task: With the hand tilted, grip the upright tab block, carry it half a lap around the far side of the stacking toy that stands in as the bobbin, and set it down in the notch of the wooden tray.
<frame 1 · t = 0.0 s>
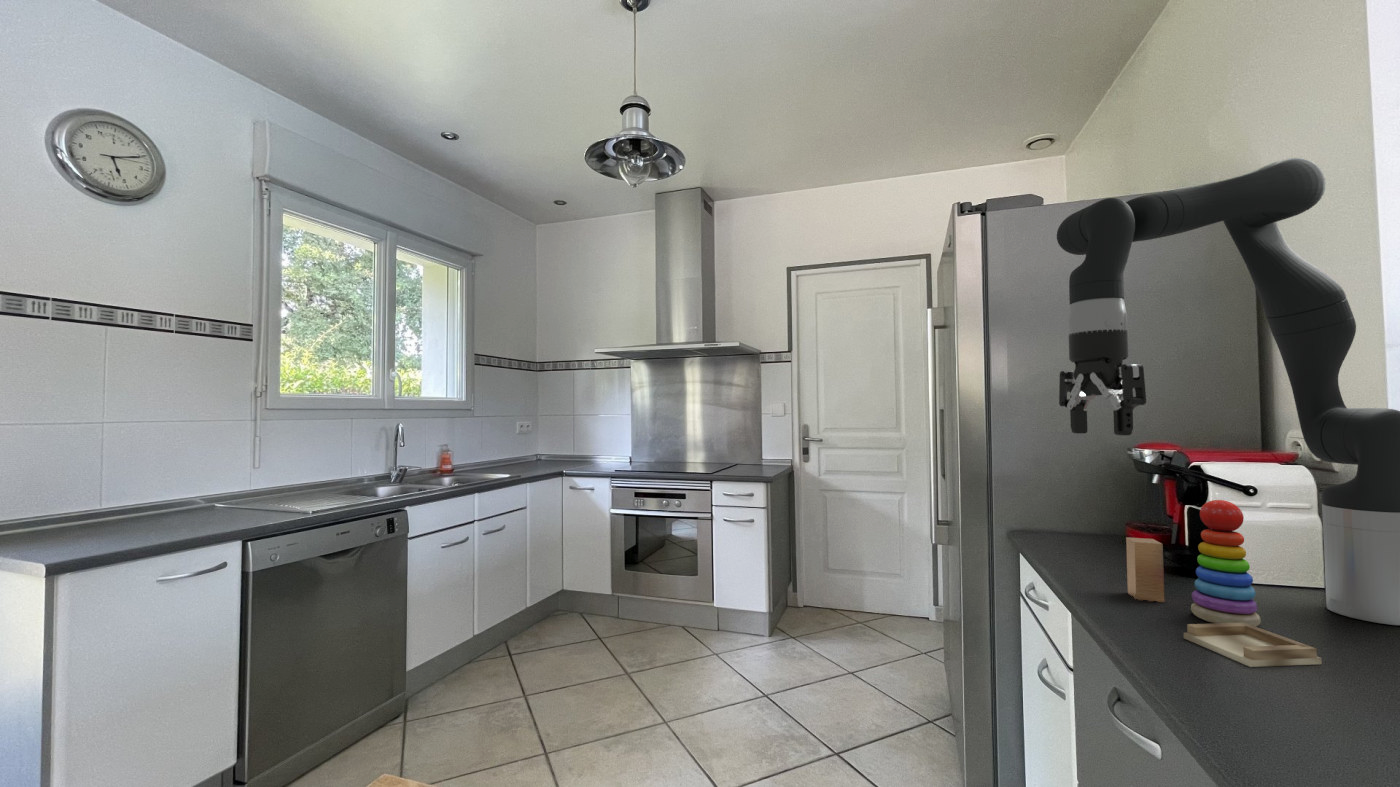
hand: (1100, 434, 86), 29 cm above the countertop, tool pointing down, fingers open, 8 cm apart
wooden tray: (1248, 650, 76), on the countertop
tab: (1145, 597, 97), on the countertop
stacking toy: (1225, 621, 87), on the countertop
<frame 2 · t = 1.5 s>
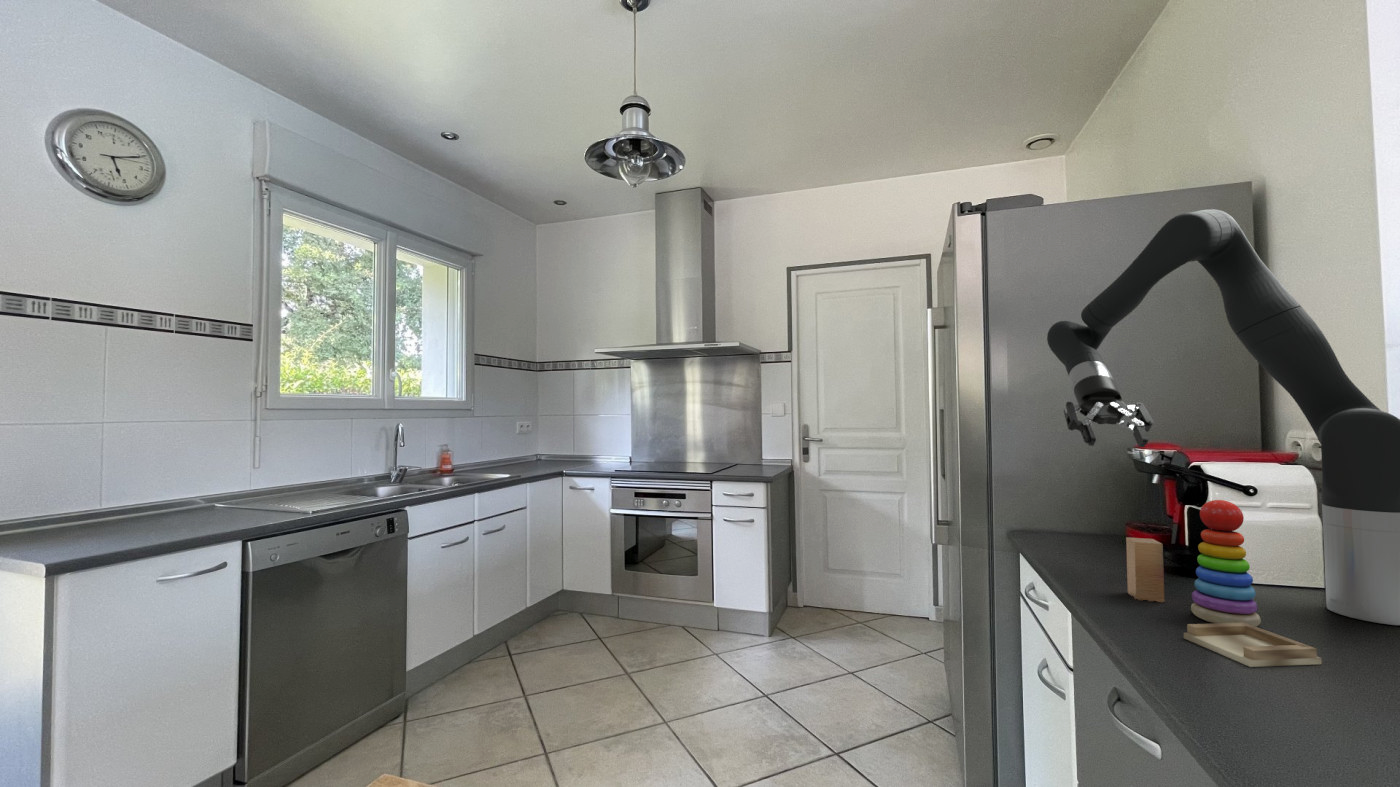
hand: (1117, 443, 108), 27 cm above the countertop, tool tilted 45°, fingers open, 8 cm apart
nothing on the countertop moved.
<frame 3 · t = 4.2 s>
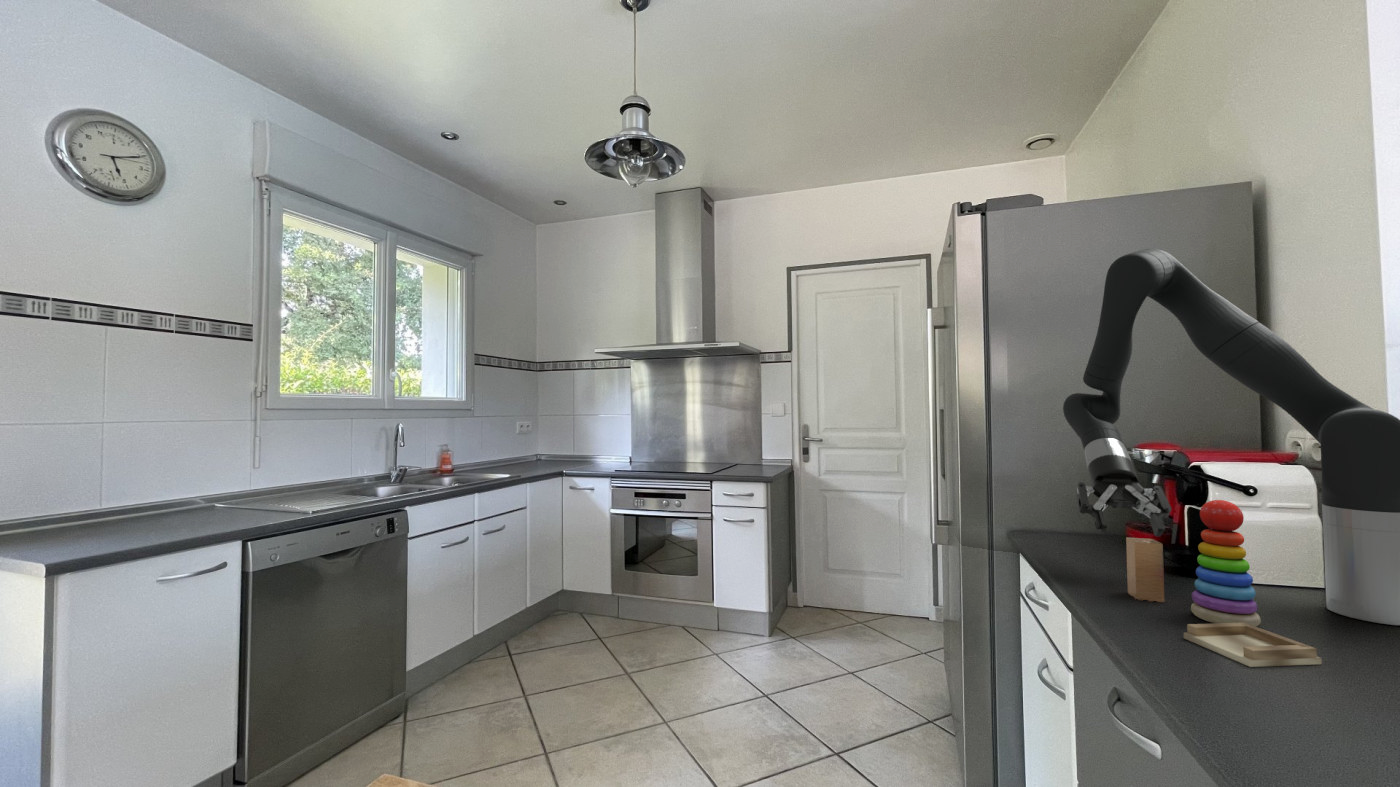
hand: (1131, 532, 103), 10 cm above the countertop, tool tilted 45°, fingers open, 8 cm apart
nothing on the countertop moved.
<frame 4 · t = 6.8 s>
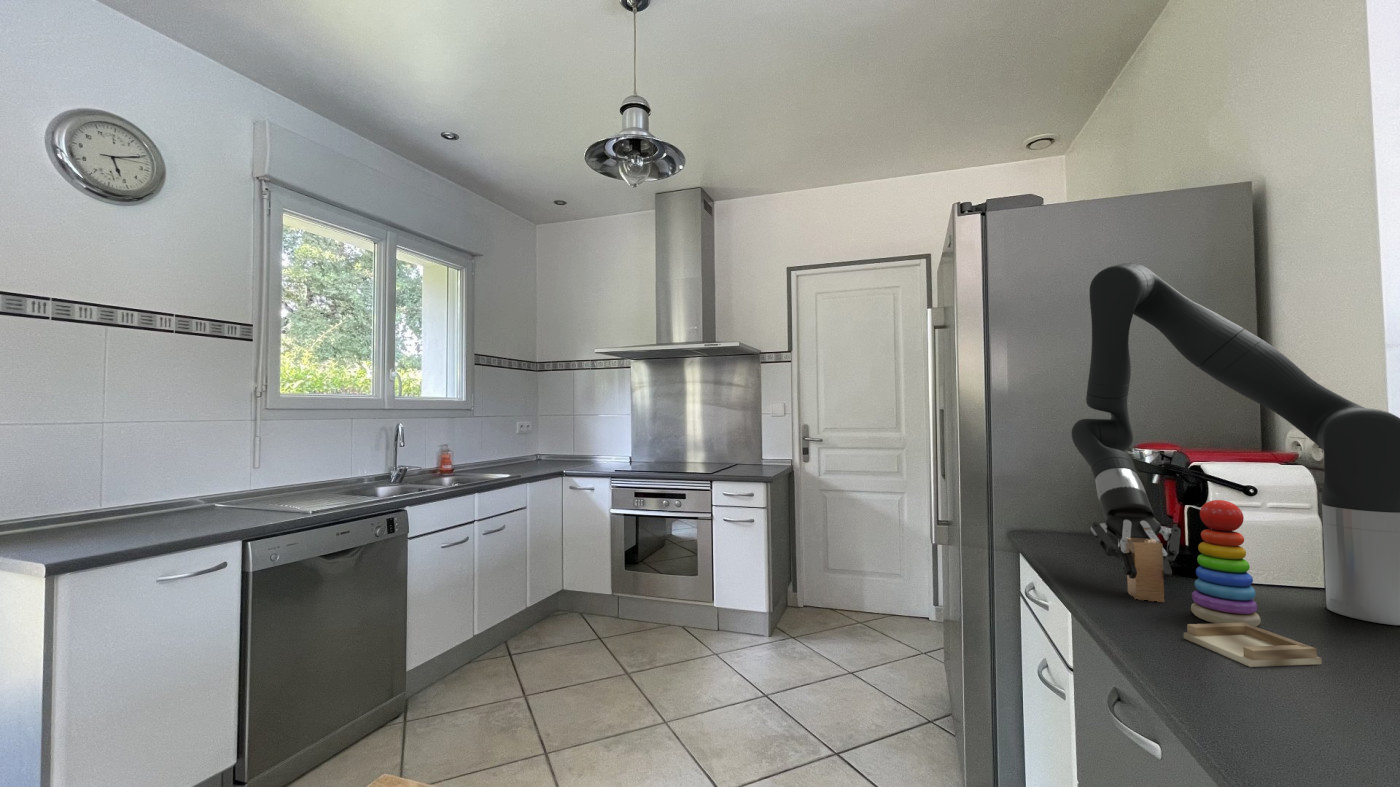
hand: (1149, 577, 96), 4 cm above the countertop, tool tilted 45°, fingers closed on tab, 4 cm apart
tab: (1145, 597, 97), on the countertop, touching gripper
everything else where it was.
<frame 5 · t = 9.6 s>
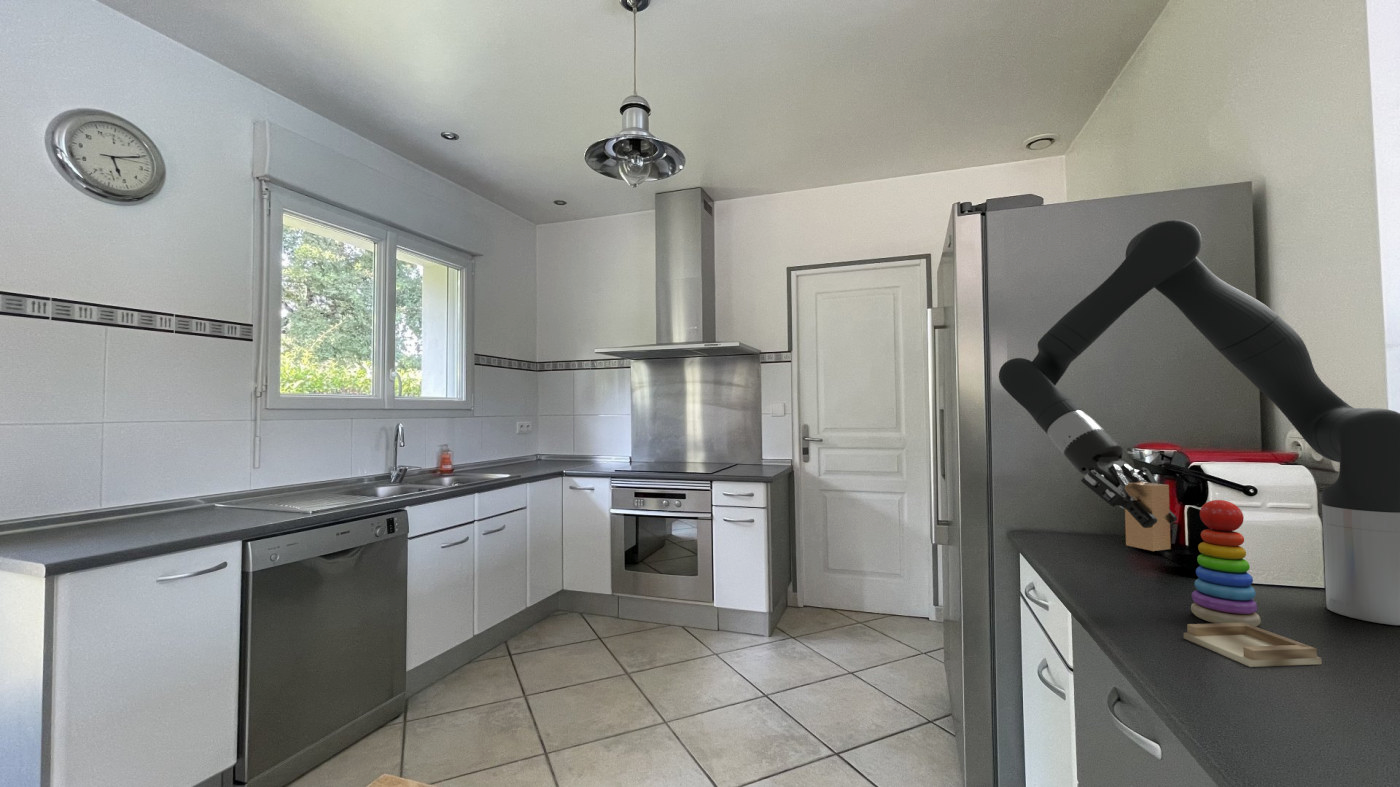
hand: (1161, 523, 86), 15 cm above the countertop, tool tilted 45°, fingers closed on tab, 4 cm apart
tab: (1148, 547, 88), point 11 cm above the countertop, touching gripper
everything else where it was.
when the fingers open (6 cm above the countertop, at t = 12.6 s): tab drops 1 cm, resting on wooden tray.
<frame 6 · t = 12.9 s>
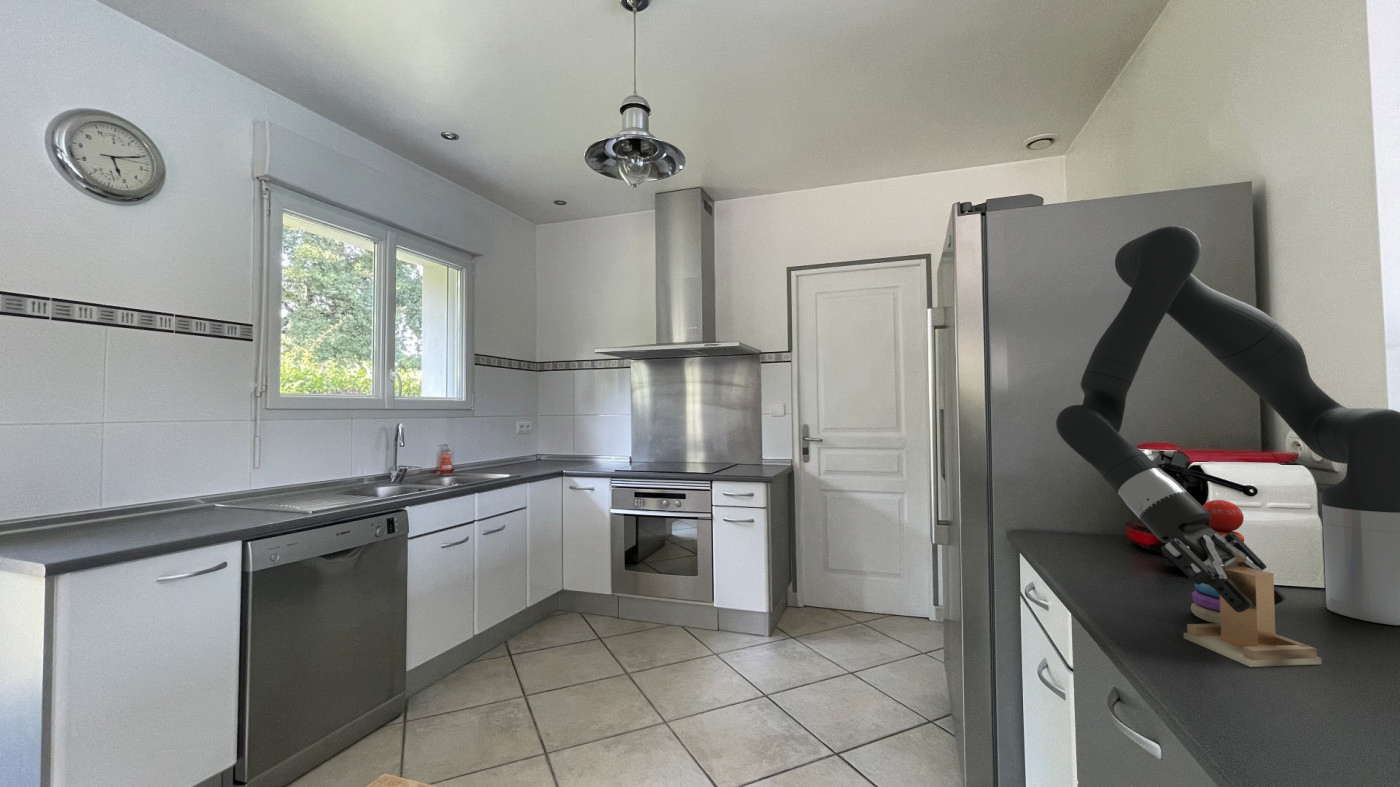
hand: (1262, 606, 74), 7 cm above the countertop, tool tilted 45°, fingers open, 6 cm apart
tab: (1248, 644, 76), point 1 cm above the countertop, touching wooden tray
everything else where it was.
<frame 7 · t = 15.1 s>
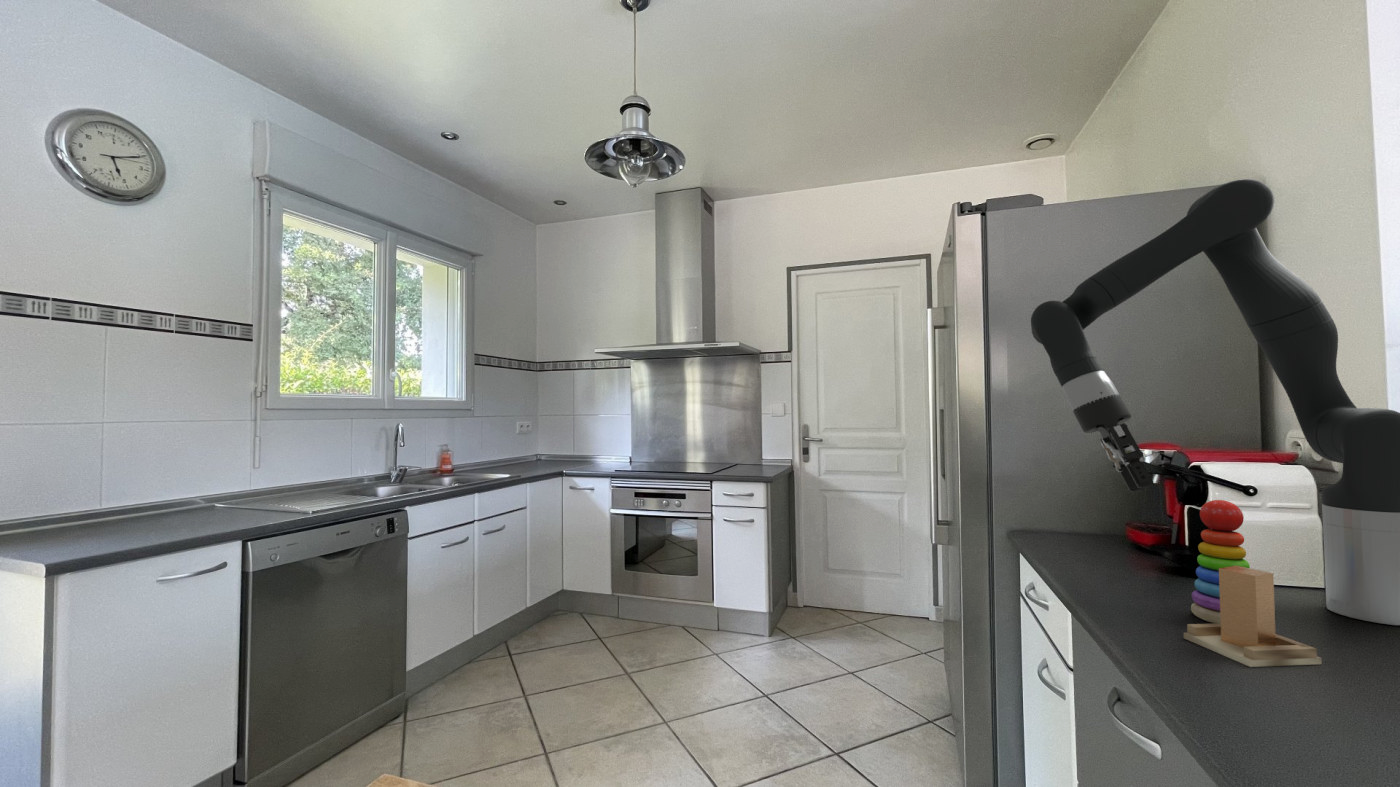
hand: (1142, 488, 93), 20 cm above the countertop, tool tilted 25°, fingers open, 8 cm apart
nothing on the countertop moved.
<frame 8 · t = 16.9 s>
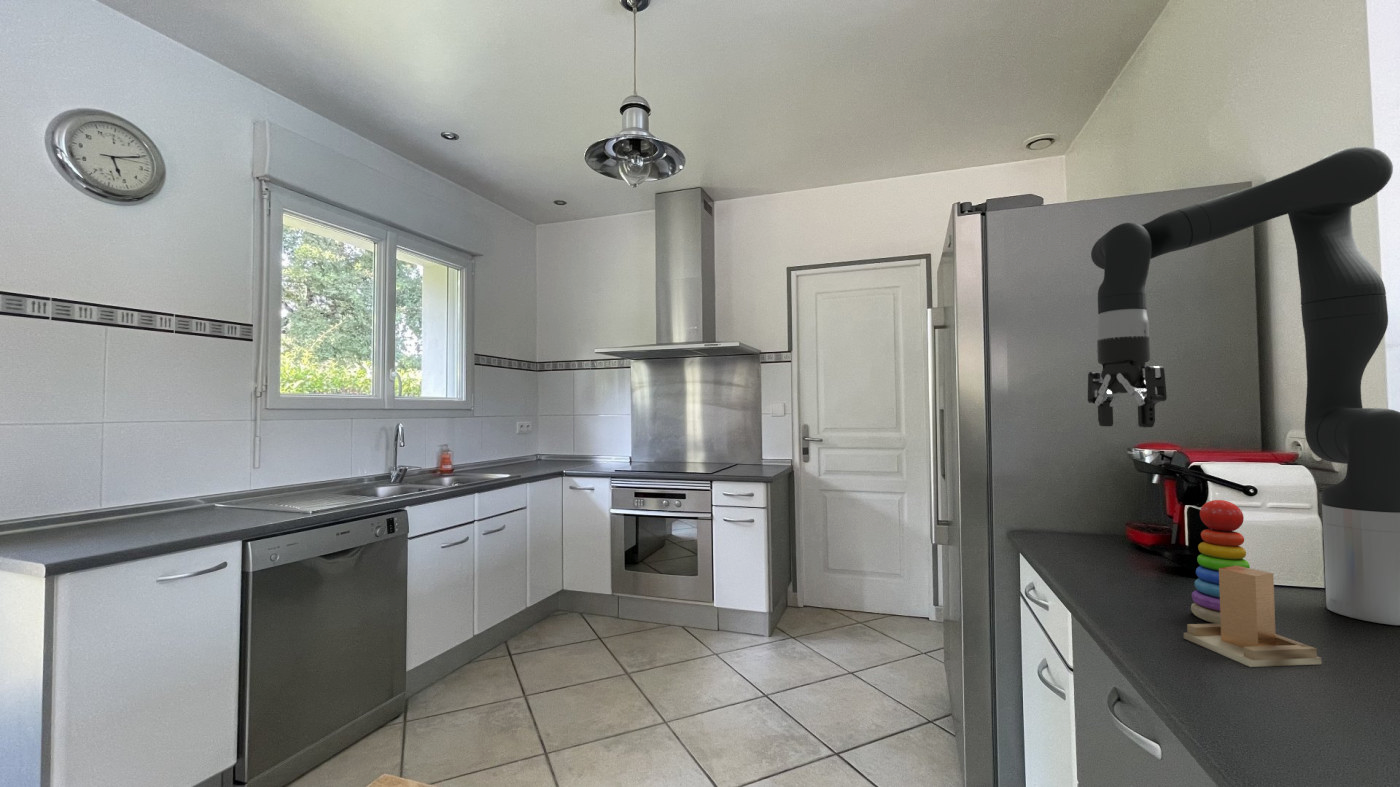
hand: (1125, 426, 99), 30 cm above the countertop, tool pointing down, fingers open, 8 cm apart
nothing on the countertop moved.
at the end: tab 0.1 cm off-centre on the wooden tray, point 0.8 cm above the wooden tray's base; tab tilted 0°; stacking toy moved 0.2 cm from its start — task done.
